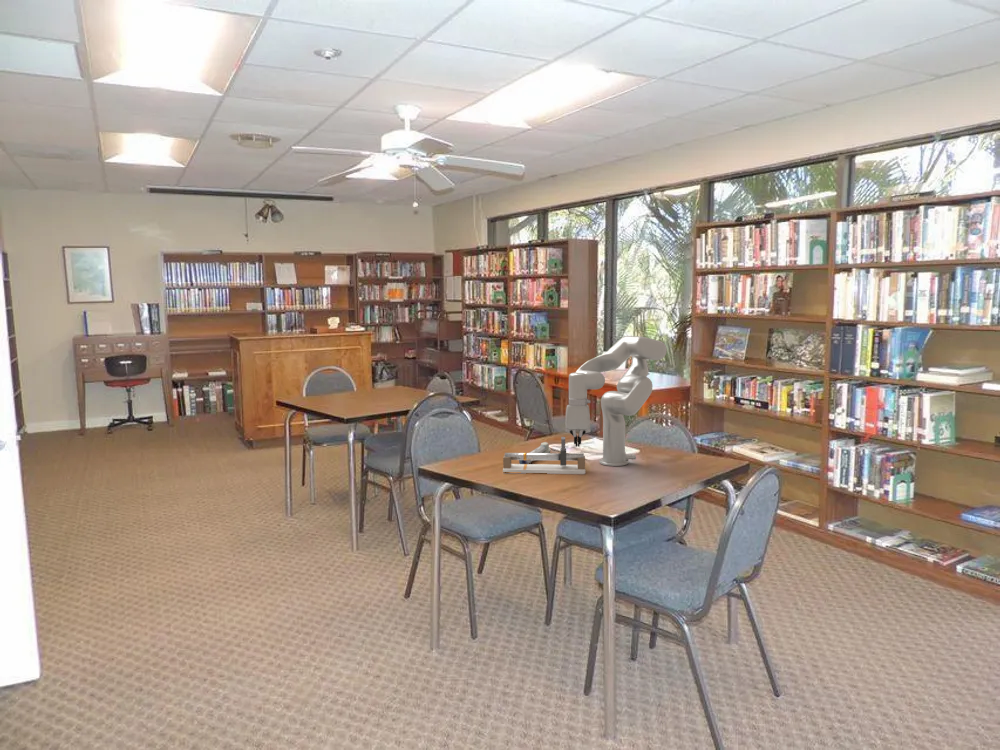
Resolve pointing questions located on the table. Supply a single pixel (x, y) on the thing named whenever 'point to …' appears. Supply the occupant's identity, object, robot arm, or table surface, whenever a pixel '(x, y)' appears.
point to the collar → (562, 452)
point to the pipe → (544, 456)
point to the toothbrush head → (541, 449)
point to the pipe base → (544, 467)
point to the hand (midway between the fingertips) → (577, 445)
